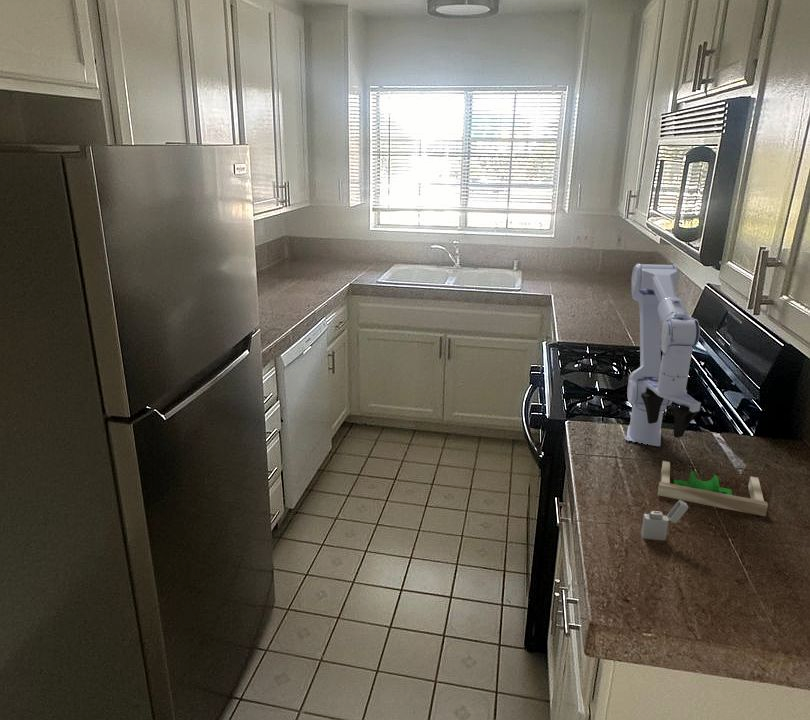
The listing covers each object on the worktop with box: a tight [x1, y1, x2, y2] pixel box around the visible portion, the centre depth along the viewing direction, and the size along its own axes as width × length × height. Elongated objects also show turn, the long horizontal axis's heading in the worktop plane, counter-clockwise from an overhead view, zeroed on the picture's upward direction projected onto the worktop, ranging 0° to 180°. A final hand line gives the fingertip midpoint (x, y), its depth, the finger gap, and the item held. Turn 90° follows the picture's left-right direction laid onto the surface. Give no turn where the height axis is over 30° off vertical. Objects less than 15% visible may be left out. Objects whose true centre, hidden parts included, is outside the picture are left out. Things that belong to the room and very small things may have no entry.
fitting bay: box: [657, 460, 769, 517], centre depth 129 cm, size 12×20×2 cm, turn 67°
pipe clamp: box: [672, 471, 733, 495], centre depth 128 cm, size 11×4×5 cm
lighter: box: [640, 499, 689, 541], centre depth 113 cm, size 7×2×8 cm, turn 81°
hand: (664, 429), depth 136 cm, fingers open, 7 cm apart
